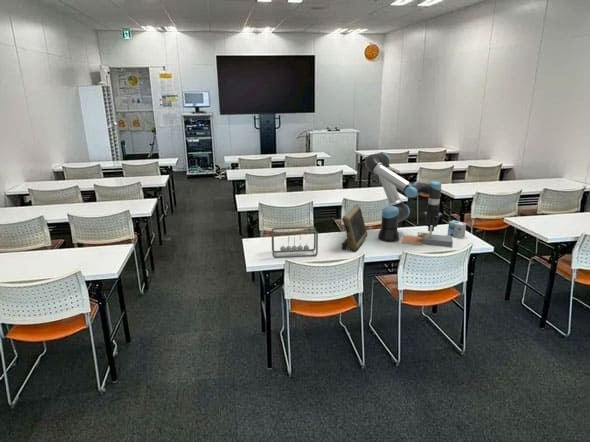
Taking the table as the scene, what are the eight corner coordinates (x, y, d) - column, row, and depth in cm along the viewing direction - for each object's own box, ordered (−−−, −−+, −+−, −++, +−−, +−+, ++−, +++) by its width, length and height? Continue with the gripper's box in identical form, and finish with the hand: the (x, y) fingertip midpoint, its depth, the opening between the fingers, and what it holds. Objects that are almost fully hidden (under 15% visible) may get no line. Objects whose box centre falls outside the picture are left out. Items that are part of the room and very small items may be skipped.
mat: (401, 243, 287) (401, 242, 287) (403, 235, 301) (403, 235, 301) (422, 245, 283) (422, 244, 283) (422, 237, 297) (422, 237, 297)
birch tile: (417, 237, 287) (417, 234, 287) (417, 234, 293) (417, 232, 292) (429, 238, 285) (429, 235, 284) (429, 235, 290) (429, 233, 290)
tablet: (360, 253, 270) (362, 217, 262) (340, 250, 274) (341, 216, 266) (367, 237, 300) (369, 204, 292) (349, 235, 304) (350, 203, 296)
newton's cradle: (315, 250, 275) (315, 226, 270) (317, 256, 265) (318, 231, 260) (271, 252, 272) (271, 227, 267) (272, 258, 262) (271, 233, 257)
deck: (422, 244, 285) (422, 239, 283) (422, 238, 296) (422, 233, 294) (452, 247, 279) (452, 241, 278) (451, 241, 290) (451, 236, 288)
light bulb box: (447, 235, 302) (448, 221, 299) (451, 233, 306) (453, 219, 303) (460, 238, 294) (462, 225, 291) (464, 236, 299) (466, 223, 295)
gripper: (423, 204, 278) (420, 236, 286) (443, 205, 274) (440, 238, 282) (424, 201, 285) (420, 232, 292) (443, 203, 281) (439, 234, 289)
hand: (430, 235), depth 287 cm, fingers closed
